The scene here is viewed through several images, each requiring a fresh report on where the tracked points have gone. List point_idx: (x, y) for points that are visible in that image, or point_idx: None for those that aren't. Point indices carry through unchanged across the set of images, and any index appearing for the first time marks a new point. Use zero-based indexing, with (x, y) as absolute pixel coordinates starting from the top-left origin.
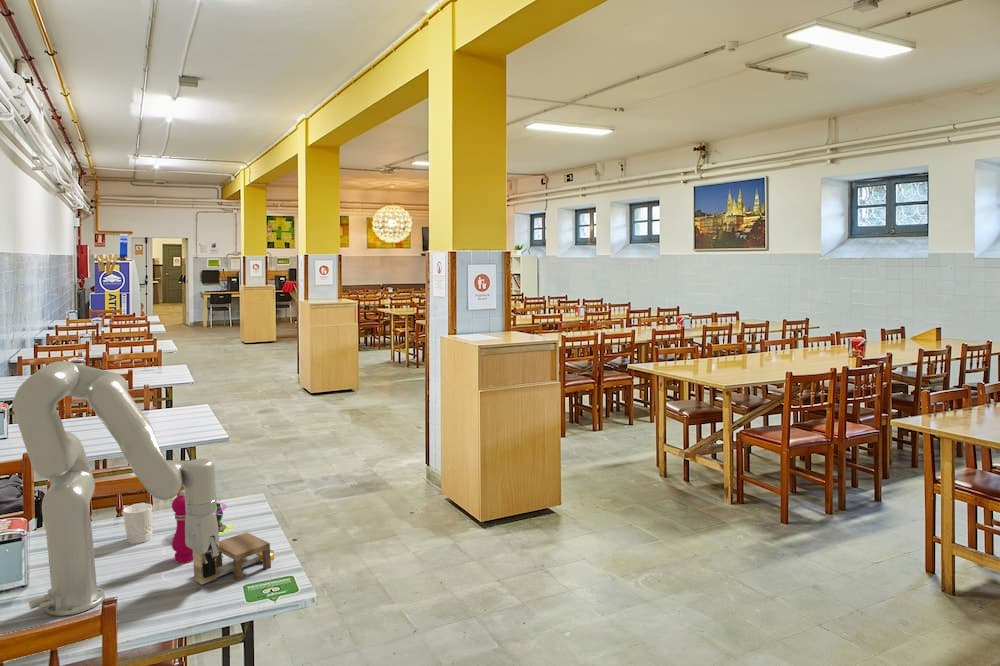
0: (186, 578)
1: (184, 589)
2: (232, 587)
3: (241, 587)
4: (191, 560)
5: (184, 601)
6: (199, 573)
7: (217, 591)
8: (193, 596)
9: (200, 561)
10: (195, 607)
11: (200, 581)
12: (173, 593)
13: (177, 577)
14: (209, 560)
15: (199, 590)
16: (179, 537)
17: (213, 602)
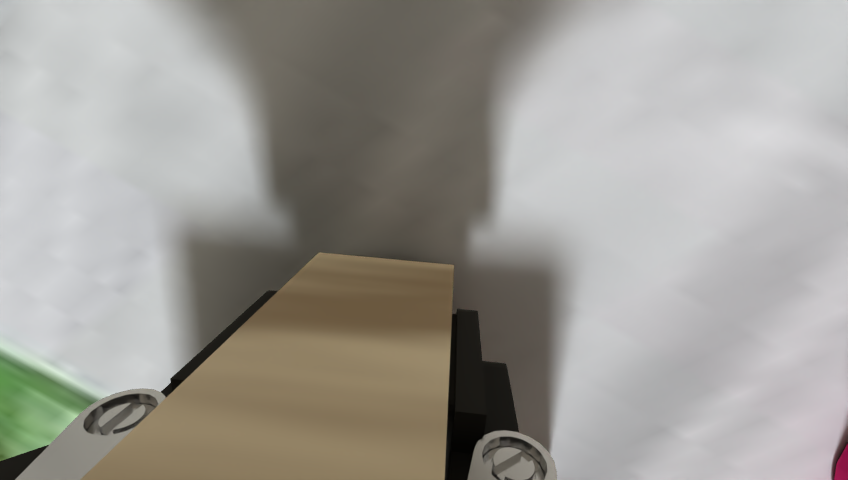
0: (583, 257)
1: (399, 131)
2: (146, 361)
3: (104, 391)
4: (846, 457)
5: (177, 4)
6: (316, 292)
7: (160, 270)
8: (212, 108)
9: (184, 386)
10: (7, 8)
11: (333, 261)
12: (407, 21)
13: (679, 222)
14: (5, 460)
15: (279, 199)
16: None
17: (4, 152)
